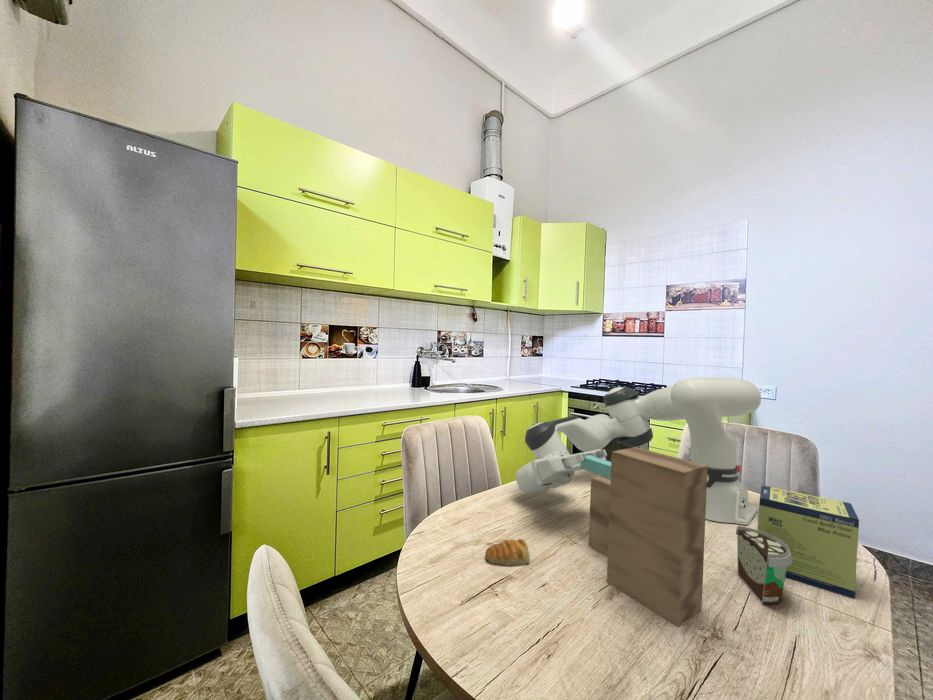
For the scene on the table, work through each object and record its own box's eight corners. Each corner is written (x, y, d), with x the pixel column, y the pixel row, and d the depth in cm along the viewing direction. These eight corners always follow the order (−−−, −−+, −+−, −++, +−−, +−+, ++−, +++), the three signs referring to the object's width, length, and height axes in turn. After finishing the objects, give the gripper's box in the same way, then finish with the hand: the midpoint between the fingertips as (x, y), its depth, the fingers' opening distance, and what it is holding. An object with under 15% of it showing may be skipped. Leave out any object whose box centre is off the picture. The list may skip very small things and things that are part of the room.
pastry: (490, 570, 79) (491, 552, 79) (481, 553, 86) (481, 536, 86) (532, 565, 81) (533, 547, 81) (520, 549, 88) (520, 532, 88)
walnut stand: (615, 535, 95) (619, 431, 95) (727, 591, 74) (733, 458, 74) (564, 555, 85) (568, 439, 85) (677, 626, 64) (683, 472, 64)
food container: (806, 616, 68) (809, 560, 68) (767, 610, 69) (769, 555, 69) (767, 575, 80) (769, 528, 80) (734, 571, 81) (736, 524, 81)
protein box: (857, 600, 73) (860, 519, 73) (755, 568, 83) (758, 496, 83) (848, 575, 81) (852, 502, 81) (756, 549, 91) (759, 484, 91)
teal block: (588, 466, 98) (588, 454, 98) (664, 493, 81) (665, 479, 81) (580, 468, 97) (580, 456, 97) (656, 496, 80) (657, 481, 80)
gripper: (587, 474, 109) (625, 461, 99) (533, 487, 98) (570, 474, 88) (578, 452, 112) (615, 438, 102) (526, 462, 101) (561, 447, 91)
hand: (594, 454), depth 95 cm, fingers open, 6 cm apart
